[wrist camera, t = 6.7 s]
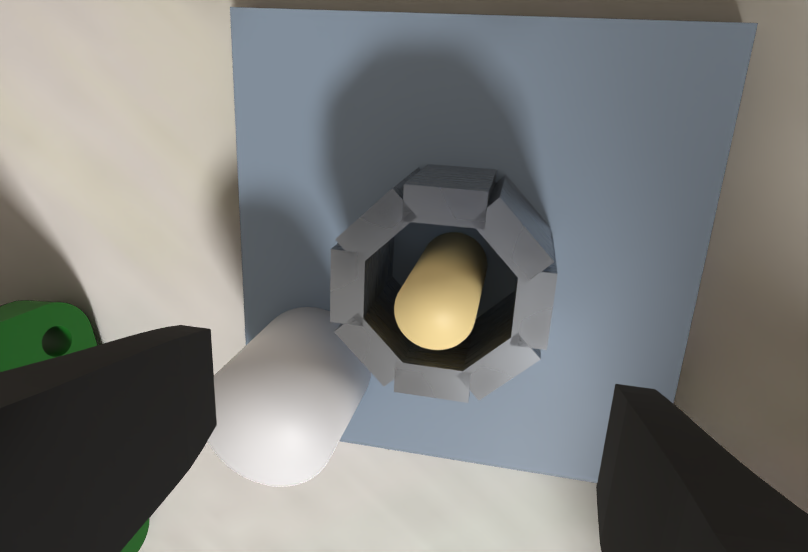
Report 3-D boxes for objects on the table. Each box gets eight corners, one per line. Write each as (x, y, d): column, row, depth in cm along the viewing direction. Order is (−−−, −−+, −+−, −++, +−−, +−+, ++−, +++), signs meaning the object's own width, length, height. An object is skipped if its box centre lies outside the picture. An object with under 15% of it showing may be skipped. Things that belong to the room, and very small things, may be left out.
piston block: (648, 473, 20) (682, 592, 15) (261, 411, 23) (191, 499, 18) (744, 26, 16) (834, 5, 11) (245, 10, 18) (146, -13, 13)
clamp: (76, 301, 28) (-175, 290, 20) (165, 306, 26) (-84, 296, 17) (53, 560, 27) (-217, 657, 19) (143, 594, 25) (-128, 722, 17)
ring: (536, 353, 19) (538, 413, 15) (363, 331, 19) (329, 382, 16) (561, 174, 17) (568, 198, 13) (367, 159, 18) (330, 178, 14)
